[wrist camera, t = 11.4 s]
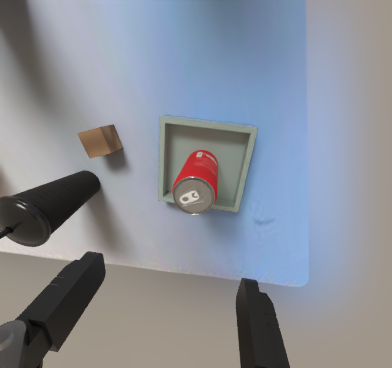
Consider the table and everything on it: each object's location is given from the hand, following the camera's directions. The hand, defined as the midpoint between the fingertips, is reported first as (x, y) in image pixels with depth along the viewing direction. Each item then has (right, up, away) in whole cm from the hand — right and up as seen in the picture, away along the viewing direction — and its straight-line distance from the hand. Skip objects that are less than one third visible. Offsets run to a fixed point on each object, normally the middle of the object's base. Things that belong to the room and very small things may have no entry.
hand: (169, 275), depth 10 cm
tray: (+3, +9, +21) cm, 23 cm away
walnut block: (-14, +13, +21) cm, 29 cm away
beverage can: (+3, +9, +21) cm, 23 cm away
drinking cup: (-20, +6, +25) cm, 33 cm away
